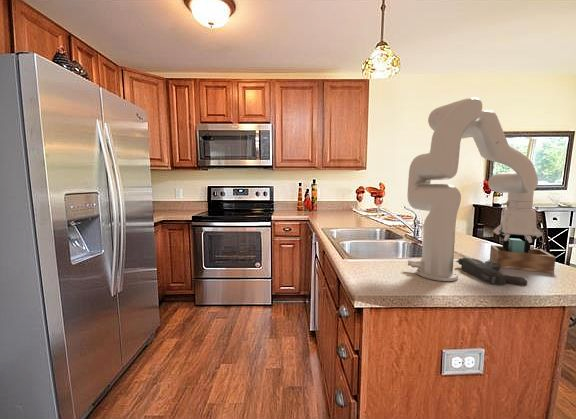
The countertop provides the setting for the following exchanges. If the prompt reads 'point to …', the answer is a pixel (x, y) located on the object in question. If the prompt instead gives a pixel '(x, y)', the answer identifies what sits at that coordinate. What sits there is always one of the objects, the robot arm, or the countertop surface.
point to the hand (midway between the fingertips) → (515, 250)
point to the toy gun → (489, 272)
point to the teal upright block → (516, 245)
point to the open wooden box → (523, 259)
